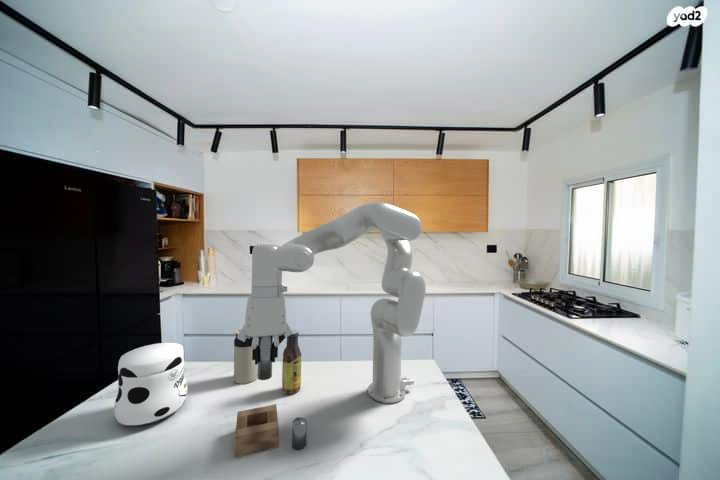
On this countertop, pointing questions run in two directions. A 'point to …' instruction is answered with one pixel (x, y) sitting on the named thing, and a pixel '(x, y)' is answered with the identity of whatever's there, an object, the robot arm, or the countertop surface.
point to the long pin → (265, 357)
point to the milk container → (150, 384)
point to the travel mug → (243, 361)
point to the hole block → (256, 430)
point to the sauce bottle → (291, 365)
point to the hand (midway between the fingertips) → (264, 360)
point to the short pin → (299, 433)
